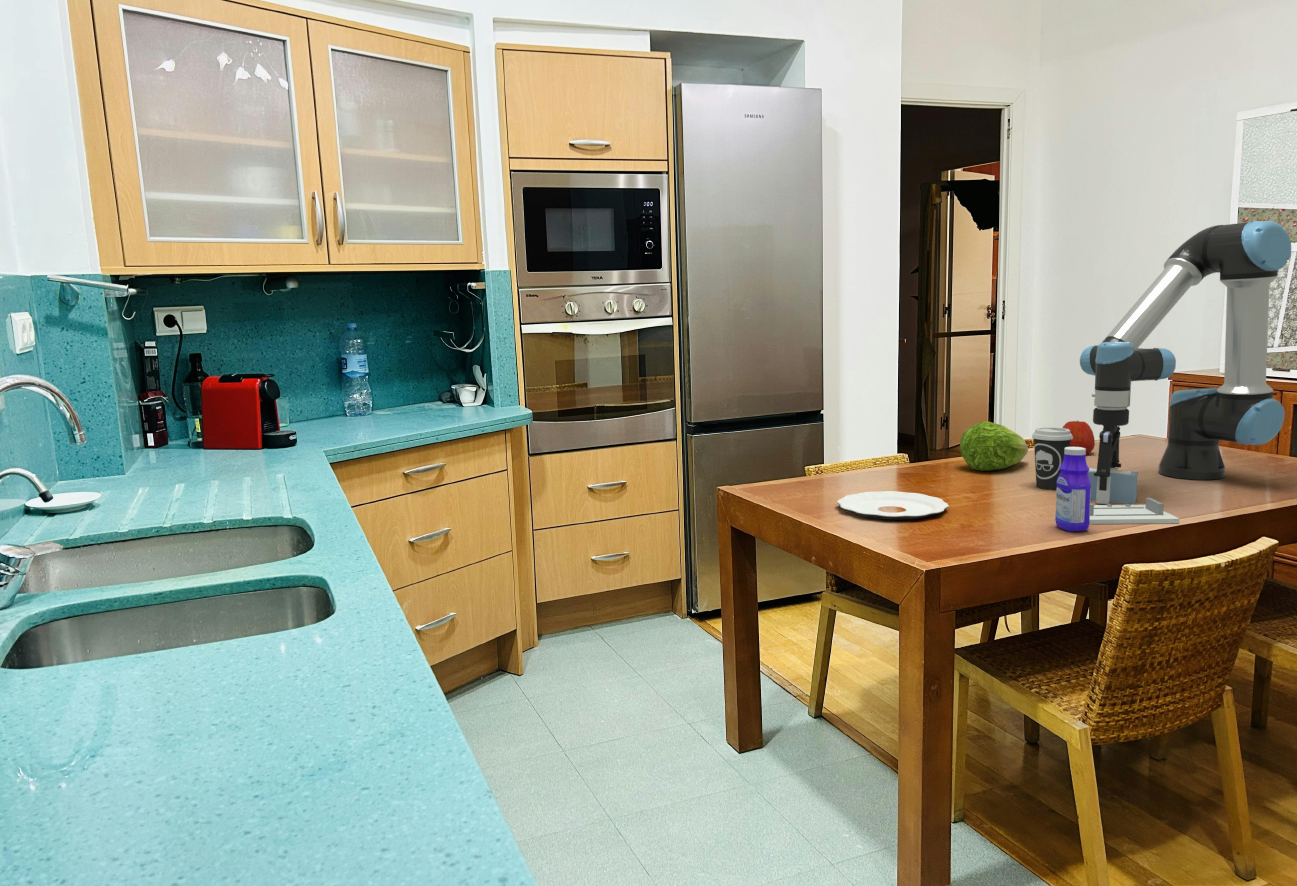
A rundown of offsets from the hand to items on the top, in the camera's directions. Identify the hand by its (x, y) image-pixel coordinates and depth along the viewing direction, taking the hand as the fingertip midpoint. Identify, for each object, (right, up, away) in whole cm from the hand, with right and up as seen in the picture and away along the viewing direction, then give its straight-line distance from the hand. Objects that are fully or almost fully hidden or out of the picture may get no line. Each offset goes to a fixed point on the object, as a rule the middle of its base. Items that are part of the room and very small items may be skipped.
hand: (1106, 498), depth 211 cm
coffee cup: (-7, +2, +15) cm, 17 cm away
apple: (+21, +10, +59) cm, 64 cm away
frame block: (0, 0, 0) cm, 0 cm away
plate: (-52, -3, -3) cm, 52 cm away
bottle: (-20, -5, -24) cm, 32 cm away
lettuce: (-9, +6, +42) cm, 43 cm away
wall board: (-5, -3, -16) cm, 17 cm away
